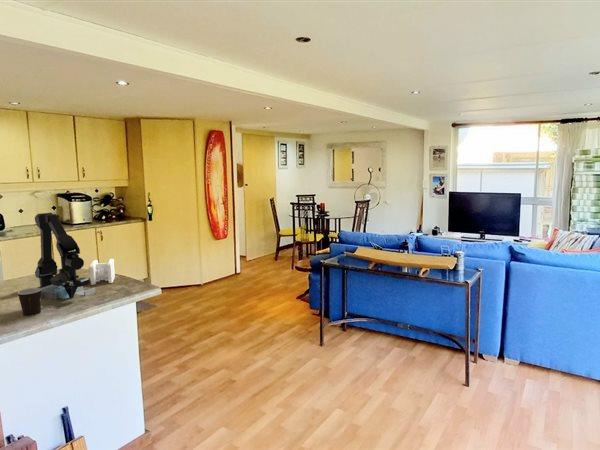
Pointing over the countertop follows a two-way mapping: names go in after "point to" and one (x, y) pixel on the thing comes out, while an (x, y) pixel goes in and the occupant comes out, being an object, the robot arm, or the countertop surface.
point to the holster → (84, 291)
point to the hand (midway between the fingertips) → (71, 298)
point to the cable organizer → (102, 271)
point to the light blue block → (61, 292)
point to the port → (49, 292)
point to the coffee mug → (30, 301)
